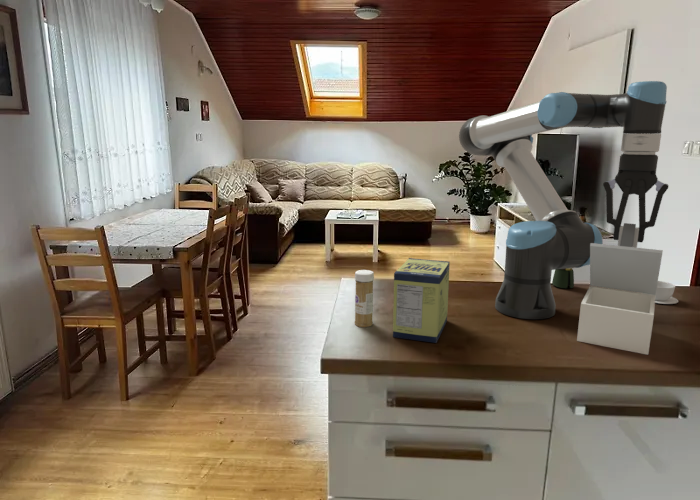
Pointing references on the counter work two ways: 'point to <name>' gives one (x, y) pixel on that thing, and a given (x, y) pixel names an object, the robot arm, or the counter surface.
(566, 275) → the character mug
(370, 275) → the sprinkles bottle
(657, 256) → the lid flap
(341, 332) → the counter surface
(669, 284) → the teacup
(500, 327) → the counter surface
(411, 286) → the protein box
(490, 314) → the counter surface
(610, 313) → the carton
